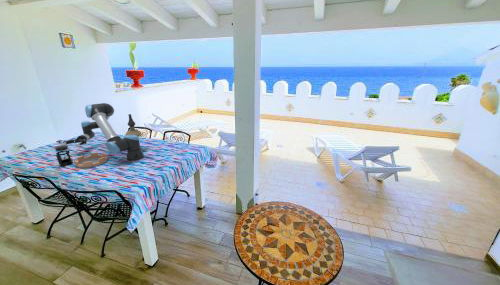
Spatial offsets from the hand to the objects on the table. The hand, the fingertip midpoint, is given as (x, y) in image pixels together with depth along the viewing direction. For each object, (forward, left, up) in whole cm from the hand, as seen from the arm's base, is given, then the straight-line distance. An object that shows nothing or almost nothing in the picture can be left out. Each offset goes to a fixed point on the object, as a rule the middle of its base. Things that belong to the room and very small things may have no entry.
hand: (68, 145), depth 190 cm
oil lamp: (-44, -31, -15) cm, 56 cm away
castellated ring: (-23, +3, -15) cm, 27 cm away
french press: (-3, +10, -15) cm, 18 cm away
